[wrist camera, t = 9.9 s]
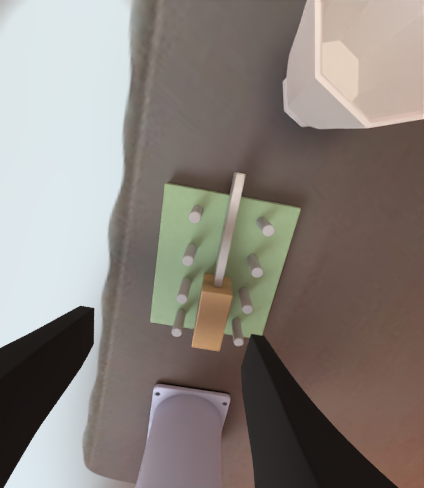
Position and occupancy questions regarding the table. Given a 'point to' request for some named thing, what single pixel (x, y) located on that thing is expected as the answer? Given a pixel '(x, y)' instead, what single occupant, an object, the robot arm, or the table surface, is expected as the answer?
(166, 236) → the rack
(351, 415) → the table surface
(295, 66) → the cup
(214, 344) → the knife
